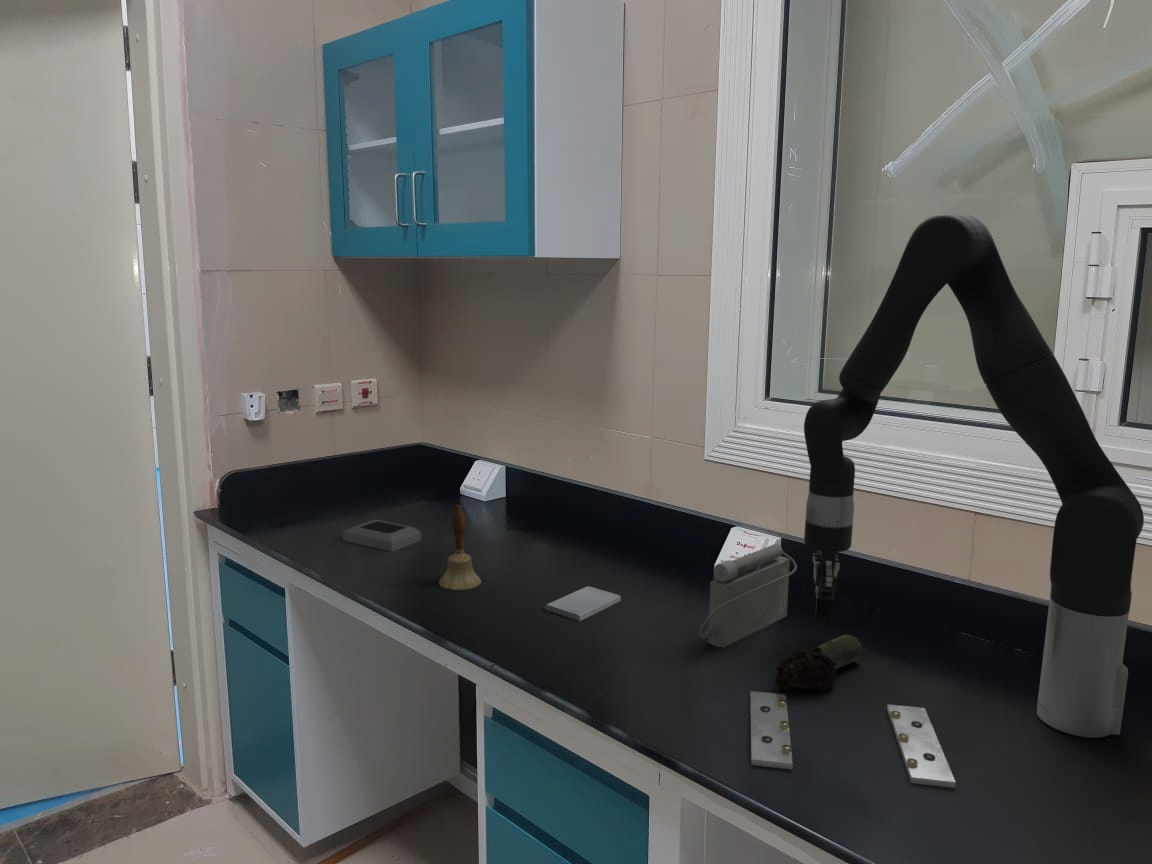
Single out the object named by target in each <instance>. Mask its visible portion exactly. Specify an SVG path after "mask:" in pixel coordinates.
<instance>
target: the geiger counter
mask: <svg viewBox="0 0 1152 864" xmlns="http://www.w3.org/2000/svg"><path fill="white" fill-rule="evenodd" d="M782 555H783V556H782ZM784 556H785V557H784ZM790 562H792V564H793V565H794V567H793V569H792V571H790ZM797 569H798V565H797V563H796V561H795V559H794V558H792V557H791V556H790V555H788V554H787V553H786V552H784V549H783V547H782V546H781V545H780V544H778V543H774V544H772V545H769V546H766V547H763V548H761V549H759V550H756V551H753V552H752V553H747V554H746V555H743V556H741V557H739V558H736V559H733V560H730V559H728V560H724V561H722V562H720V563H717V564H715V566H714V567H713V575H714V578H715V579H713V580H712V581H710V582H709V583H710V584H709V585H710V586H709V612H708V613H709V614H708V615H707V617H706V618H705V619H704V621H703V622H702V624H701V625H700V626H699V631H698V637H700V638H702V639H704V640H705V639H708V644H710V645H712V646H714V647H717V648H720V647H722V648H721V649H724V647H725V648H726V646H727V647H729V646H730V644H731V645H732V643H733V644H734V642H735V643H737V642H738V641H740V640H742V639H744V638H746V637H748V636H751V635H752V634H754V633H756V632H759V631H760V630H762V629H764V628H766V627H768V626H770V625H773V624H774V623H776V622H778V621H780V620H783V619H784V618H786V617H787V615H788V602H789V601H788V597H789V595H788V594H789V579H790V576H792V575H793V574H795V572H797ZM707 623H708V629H706V630H705V631H703V629H704V628H705V626H706V625H707ZM702 631H703V632H702Z"/></svg>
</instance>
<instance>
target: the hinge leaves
mask: <svg viewBox="0 0 1152 864" xmlns="http://www.w3.org/2000/svg"><path fill="white" fill-rule="evenodd" d="M749 695H750V696H749V700H750V701H749V702H750V704H749V706H750V707H749V708H750V709H749V710H750V753H751V754H750V761H751V763H750V764H751V766H754V767H755V766H757V767H766V768H775V769H782V770H791V771H792V770H793V763H794V762H793V754H792V753H793V752H792V744H791V743H792V742H791V735H790V734H791V732H790V723H789V713H788V705H787V704H788V702H787V695H786V693H785V694H784V693H776V692H775V693H773V692H765V691H763V692H762V691H753V690H751V691H750V693H749ZM886 711H887V714H888V716H889V717H888V718H889V720H890V723H891V726H892V729H893V733H894V735H895V739H896V742H897V744H898V747H899V751H900V753H901V756H902V759H903V760H902V761H903V763H904V765H905V769H906V772H907V775H908V778H909V781H910V784H914V785H915V784H917V785H923V786H932V787H941V788H952V789H956V780H955V777H954V775H953V773H952V770H951V767H950V765H949V762H948V760H947V758H946V756H945V753H944V751H943V748H942V746H941V744H940V741H939V740H938V736H937V734H936V732H935V729H934V727H933V725H932V722H931V720H930V718H929V715H928V712H927V710H926V708H925V707H920V706H919V707H917V706H907V705H906V706H905V705H897V704H887V706H886Z"/></svg>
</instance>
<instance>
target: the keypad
mask: <svg viewBox="0 0 1152 864" xmlns="http://www.w3.org/2000/svg"><path fill="white" fill-rule="evenodd" d="M341 535H342V541H344V542H347V543H351V544H352V543H353V544H355V545H356V544H357V545H360V546H361V545H362V546H365V547H370V548H374V549H378V550H383V551H386V552H390V553H393V552H395V551H398V550H400V549H403V548H405V547H407V546H410V545H413V544H416V543H418V542H420V541H422V532H421V531H420V530H419V529H418V528H415V527H413V526H410V525H409V526H408V525H403V524H399V523H396V522H390V521H386V520H379V519H372V520H370V521H367V522H364V523H360V524H358V525H354V526H351V527H350V528H347V529H345V530H342V534H341Z"/></svg>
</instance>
